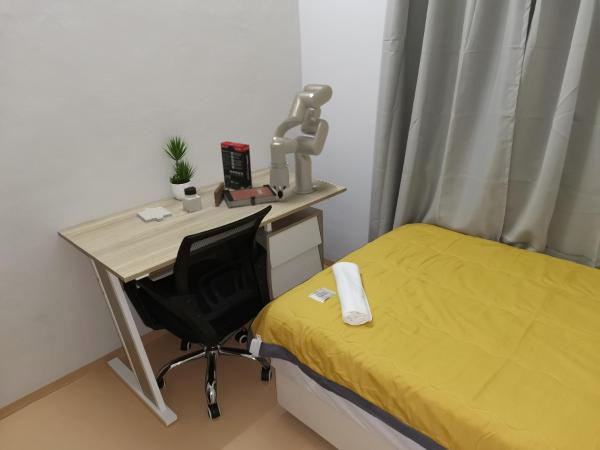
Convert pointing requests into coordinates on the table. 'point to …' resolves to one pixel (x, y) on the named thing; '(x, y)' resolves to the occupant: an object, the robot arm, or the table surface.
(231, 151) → the graphics card box
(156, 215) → the mounting plate
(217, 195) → the walnut board
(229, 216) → the table surface
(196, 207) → the medicine bottle
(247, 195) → the book
